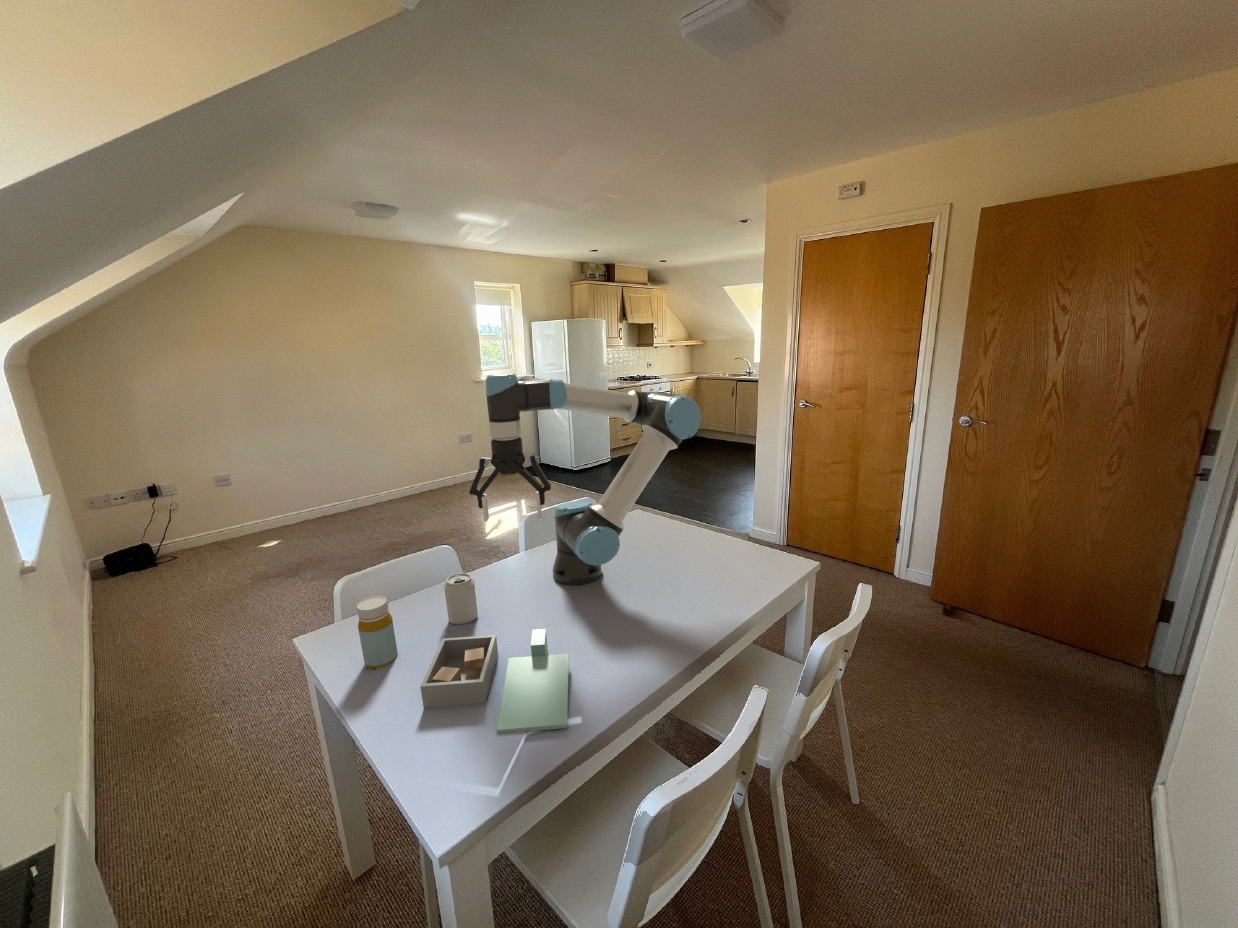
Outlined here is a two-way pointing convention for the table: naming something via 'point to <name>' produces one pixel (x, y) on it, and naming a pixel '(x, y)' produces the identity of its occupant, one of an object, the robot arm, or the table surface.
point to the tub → (467, 688)
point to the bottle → (376, 632)
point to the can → (460, 599)
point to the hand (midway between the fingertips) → (513, 518)
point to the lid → (535, 690)
